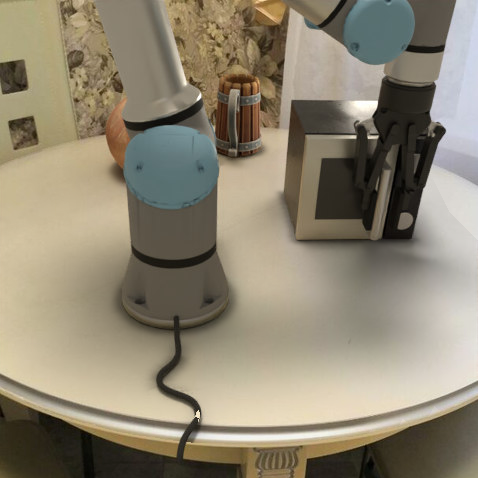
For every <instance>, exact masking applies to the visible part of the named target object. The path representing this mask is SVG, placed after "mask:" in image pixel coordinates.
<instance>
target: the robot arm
mask: <svg viewBox="0 0 478 478" xmlns="http://www.w3.org/2000/svg"><path fill="white" fill-rule="evenodd" d="M279 1H280V2H282V3H283V4H284V5H286V6H287V7H289V8H290V9H292V10H293V11H295V12H296V13H297V14H299V15H300V16H302V17H303V21H304V22H303V23H305V27H306V28H308V29H310V30H316V31H317V30H318V31H322V32H323V33H326V34H327V35H328V36H330V37H331V38H332V39H334V40H335V41H337V43H339V44H341V45H342V46H343V47H345V48H346V50H347V52H348V53H349V54H350V55H351V56H352V57H354V58H356V59H357V60H358V61H360V62H361V63H363V64H366V65H371V66H381V65H384V67H383V74H384V75H385V76H384V77H383V78H381V83H380V88H379V93H378V99H377V101H378V105H377V109H376V111H375V112H374V113H373V115H372V118H370V119H367V120H365V121H362V122H361V121H360V120H356V121H355V122H354V128H355V132H356V145H355V154H354V164H353V173H352V180H353V182H354V184H355V186H356V188H361V189H362V194H361V200H360V205H361V207H362V209H363V210H364V215H363V220H362V223H363V226H364V228H365V230H366V231H371V226H372V221H373V216H374V211H375V206H376V200H377V195H378V193H377V191H376V189H375V185H376V183H377V180H378V178H379V175H380V172H381V170H382V167H383V165H384V162H385V160H386V157H387V154H388V152H390V150H391V148H392V145H396V144H401V145H402V168H401V185H402V187H401V186H396V187H395V192H394V197H393V201H392V206H391V211H390V215H389V220H388V224H389V226H390V227H391V229H392V231H397V228H398V224H399V220H400V215H401V211H402V210H406V209H407V208H408V204H409V200H410V196H411V195H413V194H414V192H415V191H414V190H415V189H423V190H424V189H425V188H426V185H427V183H428V179H429V176H430V171H431V169H432V166H433V163H434V159H435V157H436V152H437V150H438V146H439V144H440V141H441V140H442V139H443V137H444V136H445V135H446V133H447V129H446V127H445V126H444V125H443V124H442V123H441V122H440V121H434V120H432V116H431V110H432V107H433V103H434V98H435V94H436V89H437V84H436V82H437V80H439V77H440V72H441V69H442V63H443V59H444V54H445V49H446V45H447V39H448V36H449V31H450V28H451V24H452V19H453V15H454V12H455V8H456V4H457V0H279ZM93 2H94V5H95V8H96V11H97V14H98V17H99V20H100V22H101V26H102V28H103V32H104V34H105V39H106V40H107V44H108V46H109V49H110V52H111V55H112V58H113V61H114V64H115V68H116V69H117V73H118V76H119V79H120V82H121V84H122V87H123V90H124V94H125V96H126V97H127V102H126V104H125V106H124V108H123V110H122V112H121V115H122V118H123V121H124V124H125V127H126V130H127V133H128V136H129V139H130V142H129V143H128V145H127V147H126V151H125V161H124V167H123V169H122V170H123V171H122V172H123V177H124V179H125V180H124V181H125V184H126V199H127V212H128V224H129V226H128V227H129V238H130V249H131V250H130V251H131V253H130V256H129V259H128V264H127V267H126V270H125V273H124V276H123V280H122V285H121V301H122V306H123V308H124V310H125V311H126V313H127V314H128V315H129V316H131V318H133V319H134V320H136V321H138V322H139V323H141V324H144V325H147V326H150V327H155V328H158V329H167V330H173V338H174V345H175V353H174V355H173V358H172V359H171V360H170V361H169V362H168V363H166V365H164V366H163V367H162V368H160V370H159V371H158V372H157V374H156V377H155V383H156V385H157V387H158V388H159V390H160V391H162V392H163V393H165V394H167V395H169V396H172V397H175V398H177V399H180V400H183V401H185V402H187V403H189V404H190V405H191V406H192V408H193V410H194V416H195V415H196V412H197V411H198V410H199V412H200V419H199V418H197V417H195V418H194V417H193V418H194V419H192V420H191V422H190V423H189V425H188V426H187V427H186V428H185V430H184V432H183V433H182V435H181V437H180V439H179V442H178V445H177V450H176V458H175V462H176V463H177V464H182V463H183V461H184V455H185V448H186V445H187V442H188V440H189V439H190V436H191V435H192V433H193V432H194V430H195V429H196V428H197V427H198V425H199V423H200V421H201V418H202V409H201V408H202V407H201V406H200V404H199V402H198V400H197V399H195V398H194V397H193V396H191V395H190V394H187V393H185V392H182V391H179V390H176V389H174V388H172V387H169V386H168V385H166V384H165V383H164V382H163V377H164V376H165V374H166V373H168V372H169V371H170V370H171V369H173V368H174V367H175V366H176V365H177V363H179V361H180V358H181V354H182V342H181V329H189V328H194V327H197V326H200V325H203V324H206V323H208V322H210V321H212V320H214V319H215V318H217V317H218V316H219V315H221V313H222V312H224V311H225V308H226V307H227V305H228V302H229V291H230V290H229V289H230V288H229V282H228V278H227V276H226V274H225V270H224V268H223V265H222V262H221V259H220V256H219V254H218V250H217V249H218V247H217V245H218V244H217V241H218V240H217V239H218V238H217V237H218V179H219V177H220V176H219V175H220V161H219V158H218V151H217V150H216V135H215V127H214V125H213V124H212V123H211V120H210V118H209V117H208V115H207V114H208V113H207V111H206V107H205V104H204V100H203V96H202V93H201V91H200V89H199V88H198V87H196V86H194V85H192V84H191V83H189V82H188V81H187V79H186V75H185V70H184V68H183V65H182V60H181V57H180V53H179V49H178V47H177V42H176V39H175V36H174V35H175V34H174V31H173V27H172V24H171V21H170V17H169V13H168V10H167V6H166V2H165V0H93ZM126 97H125V98H126ZM374 126H375V128H376V130H377V132H378V133H379V136H378V139H377V145H376V148H375V150H374V153H373V156H372V158H371V161H370V164H369V166H368V169H367V172H366V174H365V165H366V157H367V148H368V136H369V135H370V134H371V130H372V128H373V127H374ZM426 128H427V130H426ZM425 130H426V134H427V135H426V137H425V140H424V144H423V147H422V150H421V154H420V157H419V161H418V164H417V168H416V171H415V175H414V156H415V151H416V139H417V138H418V137H419V136H420V135H421V134H422V133H423V132H424V131H425ZM364 174H365V177H364ZM198 419H199V422H198Z"/></svg>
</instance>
